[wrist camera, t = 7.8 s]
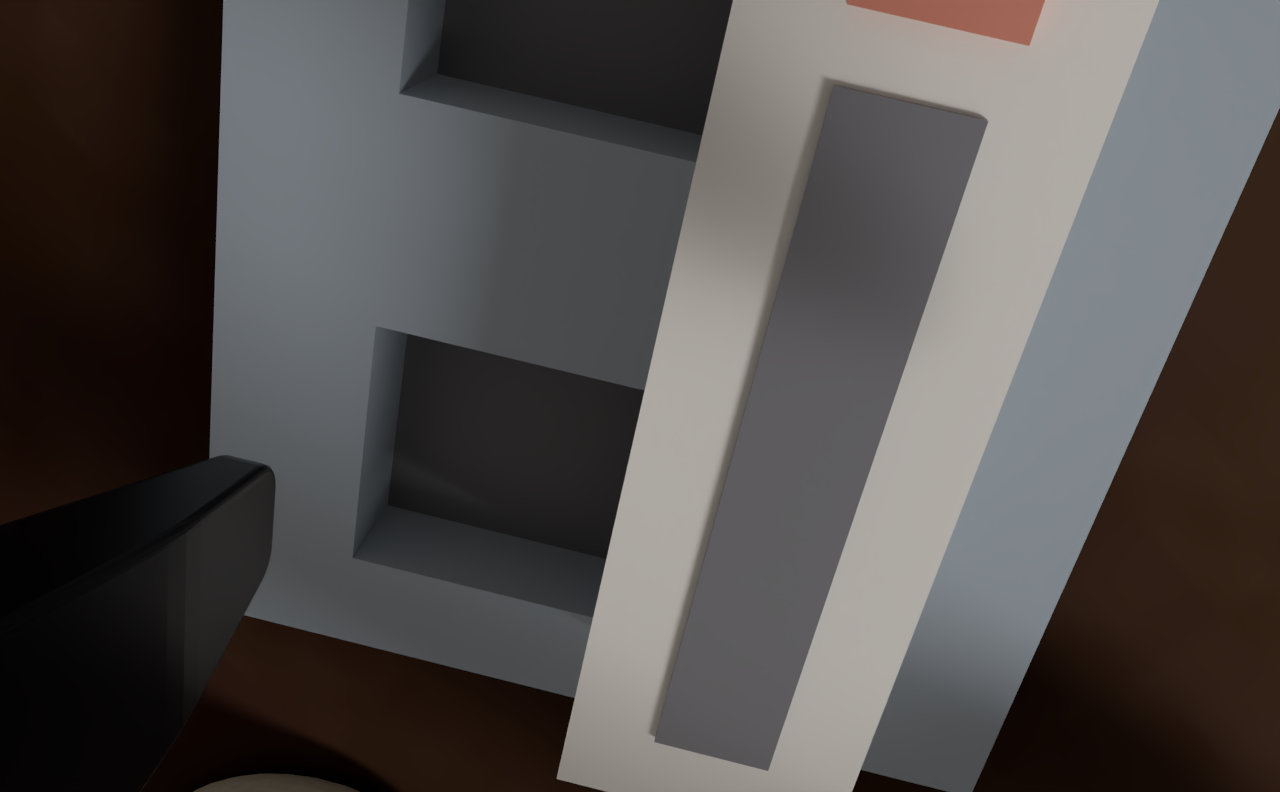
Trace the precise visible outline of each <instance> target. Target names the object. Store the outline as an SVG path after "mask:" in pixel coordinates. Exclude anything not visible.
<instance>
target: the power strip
mask: <svg viewBox="0 0 1280 792" xmlns="http://www.w3.org/2000/svg"><path fill="white" fill-rule="evenodd" d="M1158 3H1159V0H733V3H732V7H731V11H730V16H729V20H728V25H727V29H726V33H725V38H724V42H723V47H722V51H721V55H720V60H719V64H718V69H717V73H716V78H715V82H714V86H713V91H712V95H711V100H710V104H709V108H708V113H707V117H706V122H705V126H704V130H703V135H702V139H701V144H700V148H699V153H698V157H697V161H696V166H695V170H694V175H693V179H692V183H691V188H690V192H689V197H688V201H687V205H686V210H685V214H684V219H683V223H682V228H681V232H680V236H679V241H678V245H677V250H676V254H675V258H674V263H673V267H672V272H671V276H670V280H669V285H668V289H667V294H666V298H665V302H664V307H663V311H662V316H661V320H660V325H659V329H658V333H657V338H656V342H655V347H654V351H653V355H652V360H651V364H650V369H649V373H648V377H647V382H646V386H645V391H644V395H643V400H642V404H641V408H640V413H639V417H638V422H637V426H636V430H635V435H634V439H633V444H632V448H631V452H630V457H629V461H628V466H627V470H626V475H625V479H624V483H623V488H622V492H621V497H620V501H619V505H618V510H617V514H616V519H615V523H614V527H613V532H612V536H611V541H610V545H609V550H608V554H607V558H606V563H605V567H604V572H603V576H602V580H601V585H600V589H599V594H598V598H597V602H596V607H595V611H594V616H593V620H592V625H591V629H590V633H589V638H588V642H587V647H586V651H585V655H584V660H583V664H582V669H581V673H580V677H579V682H578V686H577V691H576V695H575V700H574V704H573V708H572V713H571V717H570V722H569V726H568V730H567V735H566V739H565V744H564V748H563V752H562V757H561V761H560V766H559V770H558V775H557V779H559V780H563V781H567V782H571V783H575V784H579V785H583V786H586V787H590V788H594V789H598V790H602V791H606V792H852V790H853V788H854V785H855V783H856V780H857V778H858V775H859V772H860V770H861V767H862V765H863V762H864V760H865V757H866V754H867V752H868V749H869V747H870V744H871V742H872V739H873V736H874V734H875V731H876V729H877V726H878V724H879V721H880V718H881V716H882V713H883V711H884V708H885V705H886V703H887V700H888V698H889V695H890V693H891V690H892V687H893V685H894V682H895V680H896V677H897V675H898V672H899V669H900V667H901V664H902V662H903V659H904V657H905V654H906V651H907V649H908V646H909V644H910V641H911V639H912V636H913V633H914V631H915V628H916V626H917V623H918V621H919V618H920V615H921V613H922V610H923V608H924V605H925V603H926V600H927V597H928V595H929V592H930V590H931V587H932V585H933V582H934V579H935V577H936V574H937V572H938V569H939V566H940V564H941V561H942V559H943V556H944V554H945V551H946V548H947V546H948V543H949V541H950V538H951V536H952V533H953V530H954V528H955V525H956V523H957V520H958V518H959V515H960V512H961V510H962V507H963V505H964V502H965V500H966V497H967V494H968V492H969V489H970V487H971V484H972V482H973V479H974V476H975V474H976V471H977V469H978V466H979V464H980V461H981V458H982V456H983V453H984V451H985V448H986V445H987V443H988V440H989V438H990V435H991V433H992V430H993V427H994V425H995V422H996V420H997V417H998V415H999V412H1000V409H1001V407H1002V404H1003V402H1004V399H1005V397H1006V394H1007V391H1008V389H1009V386H1010V384H1011V381H1012V379H1013V376H1014V373H1015V371H1016V368H1017V366H1018V363H1019V361H1020V358H1021V355H1022V353H1023V350H1024V348H1025V345H1026V343H1027V340H1028V337H1029V335H1030V332H1031V330H1032V327H1033V324H1034V322H1035V319H1036V317H1037V314H1038V312H1039V309H1040V306H1041V304H1042V301H1043V299H1044V296H1045V294H1046V291H1047V288H1048V286H1049V283H1050V281H1051V278H1052V276H1053V273H1054V270H1055V268H1056V265H1057V263H1058V260H1059V258H1060V255H1061V252H1062V250H1063V247H1064V245H1065V242H1066V240H1067V237H1068V234H1069V232H1070V229H1071V227H1072V224H1073V222H1074V219H1075V216H1076V214H1077V211H1078V209H1079V206H1080V204H1081V201H1082V198H1083V196H1084V193H1085V191H1086V188H1087V185H1088V183H1089V180H1090V178H1091V175H1092V173H1093V170H1094V167H1095V165H1096V162H1097V160H1098V157H1099V155H1100V152H1101V149H1102V147H1103V144H1104V142H1105V139H1106V137H1107V134H1108V131H1109V129H1110V126H1111V124H1112V121H1113V119H1114V116H1115V113H1116V111H1117V108H1118V106H1119V103H1120V101H1121V98H1122V95H1123V93H1124V90H1125V88H1126V85H1127V83H1128V80H1129V77H1130V75H1131V72H1132V70H1133V67H1134V64H1135V62H1136V59H1137V57H1138V54H1139V52H1140V49H1141V46H1142V44H1143V41H1144V39H1145V36H1146V34H1147V31H1148V28H1149V26H1150V23H1151V21H1152V18H1153V16H1154V13H1155V10H1156V8H1157V5H1158Z"/></svg>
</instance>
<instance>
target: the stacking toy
mask: <svg viewBox="0 0 1280 792" xmlns="http://www.w3.org/2000/svg"><path fill="white" fill-rule="evenodd" d="M193 792H360V791H357V790H355V789H352V788H350V787H347V786H345V785H341V784H338V783H334V782H330V781H327V780H323V779H319V778H313V777H308V776H300V775H293V774H253V775H244V776H238V777H233V778H228V779H225V780H221V781H218V782H214V783H211V784H208V785H206V786H204V787H201V788H199V789H197V790H195V791H193Z"/></svg>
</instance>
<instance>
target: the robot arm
mask: <svg viewBox="0 0 1280 792" xmlns="http://www.w3.org/2000/svg"><path fill="white" fill-rule="evenodd" d="M275 490H276V480H275V475H274V472H273V470H272V469H271V468H270V466H269V465H266V464H263V463H259V462H255V461H251V460H247V459H243V458H239V457H235V456H231V455H220V456H217V457H213V458H210V459H207V460H204V461H201V462H198V463H194V464H191V465H188V466H185V467H182V468H179V469H176V470H172V471H169V472H166V473H163V474H160V475H157V476H154V477H151V478H147V479H144V480H141V481H138V482H135V483H132V484H128V485H125V486H122V487H119V488H116V489H113V490H110V491H106V492H103V493H100V494H97V495H94V496H91V497H88V498H84V499H81V500H78V501H75V502H72V503H69V504H66V505H62V506H59V507H56V508H53V509H50V510H47V511H44V512H40V513H37V514H34V515H31V516H28V517H25V518H21V519H18V520H15V521H12V522H9V523H6V524H3V525H0V792H141V791H142V789H143V788H144V786H145V785H146V784H147V782H148V781H149V779H150V778H151V776H152V775H153V773H154V772H155V771H156V769H157V768H158V766H159V765H160V763H161V762H162V760H163V759H164V757H165V756H166V754H167V753H168V751H169V750H170V748H171V747H172V745H173V744H174V742H175V741H176V739H177V738H178V736H179V734H180V733H181V731H182V730H183V728H184V726H185V725H186V723H187V721H188V719H189V717H190V716H191V714H192V712H193V710H194V708H195V707H196V705H197V703H198V701H199V699H200V697H201V695H202V694H203V692H204V690H205V688H206V686H207V684H208V682H209V680H210V678H211V677H212V675H213V673H214V671H215V669H216V667H217V665H218V663H219V661H220V660H221V658H222V656H223V654H224V652H225V650H226V648H227V646H228V644H229V643H230V641H231V639H232V637H233V635H234V633H235V631H236V629H237V627H238V626H239V624H240V622H241V620H242V618H243V616H244V614H245V612H246V610H247V609H248V607H249V605H250V603H251V601H252V599H253V597H254V595H255V593H256V592H257V590H258V588H259V586H260V584H261V582H262V580H263V578H264V576H265V573H266V571H267V568H268V565H269V561H270V557H271V551H272V539H273V522H274V506H275Z"/></svg>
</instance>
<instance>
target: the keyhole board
mask: <svg viewBox="0 0 1280 792" xmlns="http://www.w3.org/2000/svg"><path fill="white" fill-rule="evenodd" d="M732 3H733V0H223V30H222V63H221V96H220V128H219V161H218V194H217V226H216V259H215V292H214V325H213V357H212V390H211V423H210V455H209V459H210V458H213V457H217V456H220V455H231V456H235V457H239V458H243V459H247V460H251V461H255V462H259V463H263V464H266V465H269V466H270V468H271V469H272V470H273V472H274V475H275V480H276V490H275V506H274V522H273V539H272V551H271V557H270V561H269V565H268V568H267V571H266V573H265V576H264V578H263V580H262V582H261V584H260V586H259V588H258V590H257V592H256V593H255V595H254V597H253V599H252V601H251V603H250V605H249V607H248V609H247V610H246V612H245V614H244V615H246V616H250V617H254V618H258V619H262V620H266V621H270V622H274V623H278V624H282V625H286V626H290V627H294V628H298V629H302V630H306V631H310V632H314V633H318V634H322V635H326V636H330V637H334V638H338V639H342V640H346V641H350V642H354V643H358V644H362V645H366V646H370V647H374V648H378V649H382V650H386V651H390V652H394V653H398V654H402V655H406V656H410V657H414V658H418V659H422V660H425V661H429V662H433V663H437V664H441V665H445V666H449V667H453V668H457V669H461V670H465V671H469V672H473V673H477V674H481V675H485V676H489V677H493V678H497V679H501V680H505V681H509V682H513V683H517V684H521V685H525V686H529V687H533V688H537V689H541V690H545V691H549V692H553V693H557V694H561V695H565V696H569V697H573V698H575V695H576V691H577V686H578V682H579V677H580V673H581V669H582V664H583V660H584V655H585V651H586V647H587V642H588V638H589V633H590V629H591V625H592V620H593V616H594V611H595V607H596V602H597V598H598V594H599V589H600V585H601V580H602V576H603V572H604V567H605V563H606V558H607V554H608V550H609V545H610V541H611V536H612V532H613V527H614V523H615V519H616V514H617V510H618V505H619V501H620V497H621V492H622V488H623V483H624V479H625V475H626V470H627V466H628V461H629V457H630V452H631V448H632V444H633V439H634V435H635V430H636V426H637V422H638V417H639V413H640V408H641V404H642V400H643V395H644V391H645V386H646V382H647V377H648V373H649V369H650V364H651V360H652V355H653V351H654V347H655V342H656V338H657V333H658V329H659V325H660V320H661V316H662V311H663V307H664V302H665V298H666V294H667V289H668V285H669V280H670V276H671V272H672V267H673V263H674V258H675V254H676V250H677V245H678V241H679V236H680V232H681V228H682V223H683V219H684V214H685V210H686V205H687V201H688V197H689V192H690V188H691V183H692V179H693V175H694V170H695V166H696V161H697V157H698V153H699V148H700V144H701V139H702V135H703V130H704V126H705V122H706V117H707V113H708V108H709V104H710V100H711V95H712V91H713V86H714V82H715V78H716V73H717V69H718V64H719V60H720V55H721V51H722V47H723V42H724V38H725V33H726V29H727V25H728V20H729V16H730V11H731V7H732ZM1279 108H1280V0H1159V3H1158V5H1157V8H1156V10H1155V13H1154V16H1153V18H1152V21H1151V23H1150V26H1149V28H1148V31H1147V34H1146V36H1145V39H1144V41H1143V44H1142V46H1141V49H1140V52H1139V54H1138V57H1137V59H1136V62H1135V64H1134V67H1133V70H1132V72H1131V75H1130V77H1129V80H1128V83H1127V85H1126V88H1125V90H1124V93H1123V95H1122V98H1121V101H1120V103H1119V106H1118V108H1117V111H1116V113H1115V116H1114V119H1113V121H1112V124H1111V126H1110V129H1109V131H1108V134H1107V137H1106V139H1105V142H1104V144H1103V147H1102V149H1101V152H1100V155H1099V157H1098V160H1097V162H1096V165H1095V167H1094V170H1093V173H1092V175H1091V178H1090V180H1089V183H1088V185H1087V188H1086V191H1085V193H1084V196H1083V198H1082V201H1081V204H1080V206H1079V209H1078V211H1077V214H1076V216H1075V219H1074V222H1073V224H1072V227H1071V229H1070V232H1069V234H1068V237H1067V240H1066V242H1065V245H1064V247H1063V250H1062V252H1061V255H1060V258H1059V260H1058V263H1057V265H1056V268H1055V270H1054V273H1053V276H1052V278H1051V281H1050V283H1049V286H1048V288H1047V291H1046V294H1045V296H1044V299H1043V301H1042V304H1041V306H1040V309H1039V312H1038V314H1037V317H1036V319H1035V322H1034V324H1033V327H1032V330H1031V332H1030V335H1029V337H1028V340H1027V343H1026V345H1025V348H1024V350H1023V353H1022V355H1021V358H1020V361H1019V363H1018V366H1017V368H1016V371H1015V373H1014V376H1013V379H1012V381H1011V384H1010V386H1009V389H1008V391H1007V394H1006V397H1005V399H1004V402H1003V404H1002V407H1001V409H1000V412H999V415H998V417H997V420H996V422H995V425H994V427H993V430H992V433H991V435H990V438H989V440H988V443H987V445H986V448H985V451H984V453H983V456H982V458H981V461H980V464H979V466H978V469H977V471H976V474H975V476H974V479H973V482H972V484H971V487H970V489H969V492H968V494H967V497H966V500H965V502H964V505H963V507H962V510H961V512H960V515H959V518H958V520H957V523H956V525H955V528H954V530H953V533H952V536H951V538H950V541H949V543H948V546H947V548H946V551H945V554H944V556H943V559H942V561H941V564H940V566H939V569H938V572H937V574H936V577H935V579H934V582H933V585H932V587H931V590H930V592H929V595H928V597H927V600H926V603H925V605H924V608H923V610H922V613H921V615H920V618H919V621H918V623H917V626H916V628H915V631H914V633H913V636H912V639H911V641H910V644H909V646H908V649H907V651H906V654H905V657H904V659H903V662H902V664H901V667H900V669H899V672H898V675H897V677H896V680H895V682H894V685H893V687H892V690H891V693H890V695H889V698H888V700H887V703H886V705H885V708H884V711H883V713H882V716H881V718H880V721H879V724H878V726H877V729H876V731H875V734H874V736H873V739H872V742H871V744H870V747H869V749H868V752H867V754H866V757H865V760H864V762H863V765H862V767H861V770H864V771H868V772H872V773H876V774H880V775H884V776H888V777H892V778H896V779H900V780H904V781H908V782H912V783H916V784H920V785H924V786H928V787H932V788H936V789H939V790H943V791H947V792H972V791H973V789H974V787H975V785H976V782H977V780H978V778H979V776H980V774H981V771H982V769H983V767H984V765H985V762H986V760H987V758H988V756H989V754H990V751H991V749H992V747H993V745H994V742H995V740H996V738H997V736H998V733H999V731H1000V729H1001V727H1002V725H1003V722H1004V720H1005V718H1006V716H1007V713H1008V711H1009V709H1010V707H1011V705H1012V702H1013V700H1014V698H1015V696H1016V693H1017V691H1018V689H1019V687H1020V685H1021V682H1022V680H1023V678H1024V676H1025V673H1026V671H1027V669H1028V667H1029V664H1030V662H1031V660H1032V658H1033V656H1034V653H1035V651H1036V649H1037V647H1038V644H1039V642H1040V640H1041V638H1042V636H1043V633H1044V631H1045V629H1046V627H1047V624H1048V622H1049V620H1050V618H1051V616H1052V613H1053V611H1054V609H1055V607H1056V604H1057V602H1058V600H1059V598H1060V595H1061V593H1062V591H1063V589H1064V587H1065V584H1066V582H1067V580H1068V578H1069V575H1070V573H1071V571H1072V569H1073V567H1074V564H1075V562H1076V560H1077V558H1078V555H1079V553H1080V551H1081V549H1082V546H1083V544H1084V542H1085V540H1086V538H1087V535H1088V533H1089V531H1090V529H1091V526H1092V524H1093V522H1094V520H1095V518H1096V515H1097V513H1098V511H1099V509H1100V506H1101V504H1102V502H1103V500H1104V498H1105V495H1106V493H1107V491H1108V489H1109V486H1110V484H1111V482H1112V480H1113V477H1114V475H1115V473H1116V471H1117V469H1118V466H1119V464H1120V462H1121V460H1122V457H1123V455H1124V453H1125V451H1126V449H1127V446H1128V444H1129V442H1130V440H1131V437H1132V435H1133V433H1134V431H1135V428H1136V426H1137V424H1138V422H1139V420H1140V417H1141V415H1142V413H1143V411H1144V408H1145V406H1146V404H1147V402H1148V400H1149V397H1150V395H1151V393H1152V391H1153V388H1154V386H1155V384H1156V382H1157V380H1158V377H1159V375H1160V373H1161V371H1162V368H1163V366H1164V364H1165V362H1166V359H1167V357H1168V355H1169V353H1170V351H1171V348H1172V346H1173V344H1174V342H1175V339H1176V337H1177V335H1178V333H1179V331H1180V328H1181V326H1182V324H1183V322H1184V319H1185V317H1186V315H1187V313H1188V310H1189V308H1190V306H1191V304H1192V302H1193V299H1194V297H1195V295H1196V293H1197V290H1198V288H1199V286H1200V284H1201V282H1202V279H1203V277H1204V275H1205V273H1206V270H1207V268H1208V266H1209V264H1210V262H1211V259H1212V257H1213V255H1214V253H1215V250H1216V248H1217V246H1218V244H1219V241H1220V239H1221V237H1222V235H1223V233H1224V230H1225V228H1226V226H1227V224H1228V221H1229V219H1230V217H1231V215H1232V213H1233V210H1234V208H1235V206H1236V204H1237V201H1238V199H1239V197H1240V195H1241V192H1242V190H1243V188H1244V186H1245V184H1246V181H1247V179H1248V177H1249V175H1250V172H1251V170H1252V168H1253V166H1254V164H1255V161H1256V159H1257V157H1258V155H1259V152H1260V150H1261V148H1262V146H1263V144H1264V141H1265V139H1266V137H1267V135H1268V132H1269V130H1270V128H1271V126H1272V123H1273V121H1274V119H1275V117H1276V115H1277V112H1278V110H1279Z"/></svg>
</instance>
